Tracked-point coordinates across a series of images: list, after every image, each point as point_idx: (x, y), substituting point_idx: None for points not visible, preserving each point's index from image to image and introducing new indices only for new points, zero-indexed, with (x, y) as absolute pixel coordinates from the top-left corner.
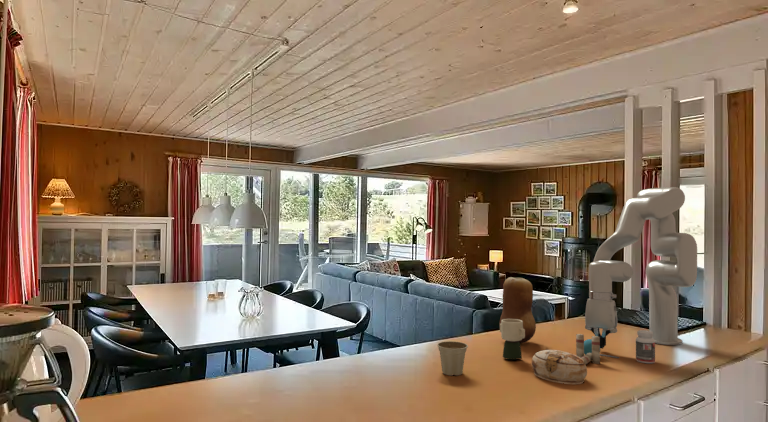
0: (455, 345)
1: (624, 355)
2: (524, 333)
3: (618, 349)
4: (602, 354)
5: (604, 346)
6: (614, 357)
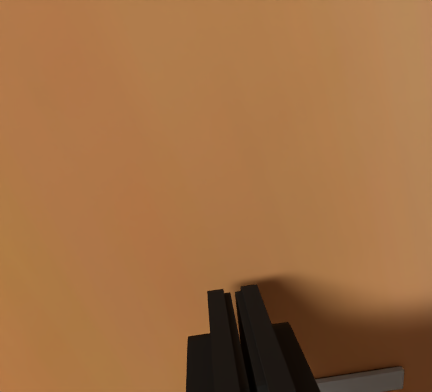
0: None
1: (424, 274)
2: None
3: (334, 84)
4: None
5: (256, 285)
6: (373, 389)
